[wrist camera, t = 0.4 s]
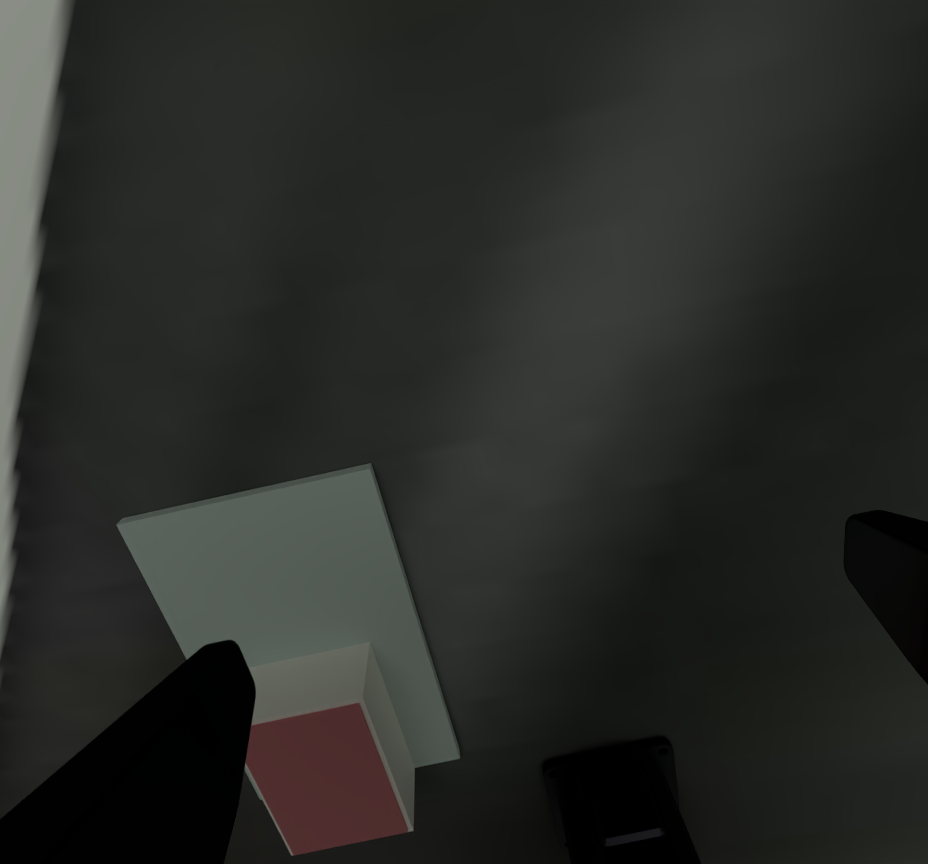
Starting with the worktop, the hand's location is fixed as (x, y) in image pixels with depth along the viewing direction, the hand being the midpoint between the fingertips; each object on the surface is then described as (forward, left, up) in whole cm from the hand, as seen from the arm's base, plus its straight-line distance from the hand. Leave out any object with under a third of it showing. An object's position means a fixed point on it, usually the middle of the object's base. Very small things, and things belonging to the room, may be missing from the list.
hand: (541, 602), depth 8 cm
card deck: (-15, +10, -13) cm, 22 cm away
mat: (-11, +10, -14) cm, 20 cm away
